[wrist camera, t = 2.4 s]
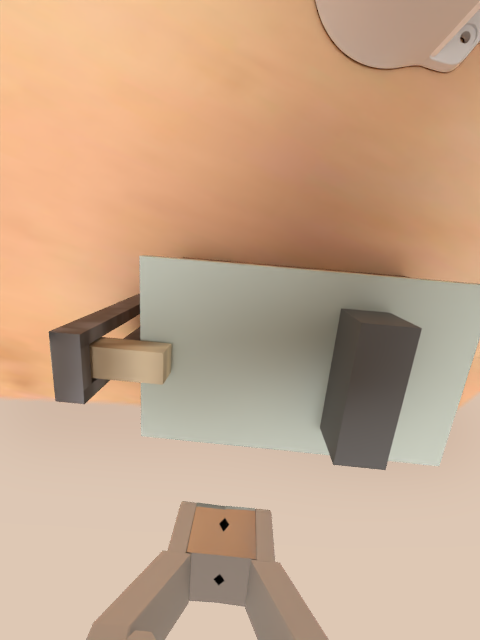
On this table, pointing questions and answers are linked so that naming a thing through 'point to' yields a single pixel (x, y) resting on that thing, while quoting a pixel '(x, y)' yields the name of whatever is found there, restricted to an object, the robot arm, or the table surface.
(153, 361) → the light wooden beam
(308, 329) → the lid
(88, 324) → the toolbox
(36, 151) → the table surface
